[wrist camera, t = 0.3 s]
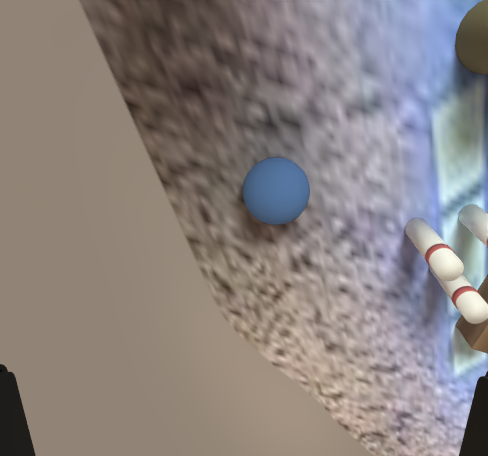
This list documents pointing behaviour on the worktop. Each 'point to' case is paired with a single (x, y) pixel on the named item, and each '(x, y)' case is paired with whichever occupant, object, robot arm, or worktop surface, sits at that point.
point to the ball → (276, 191)
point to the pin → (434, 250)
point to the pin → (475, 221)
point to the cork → (474, 39)
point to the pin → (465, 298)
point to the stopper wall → (476, 326)
